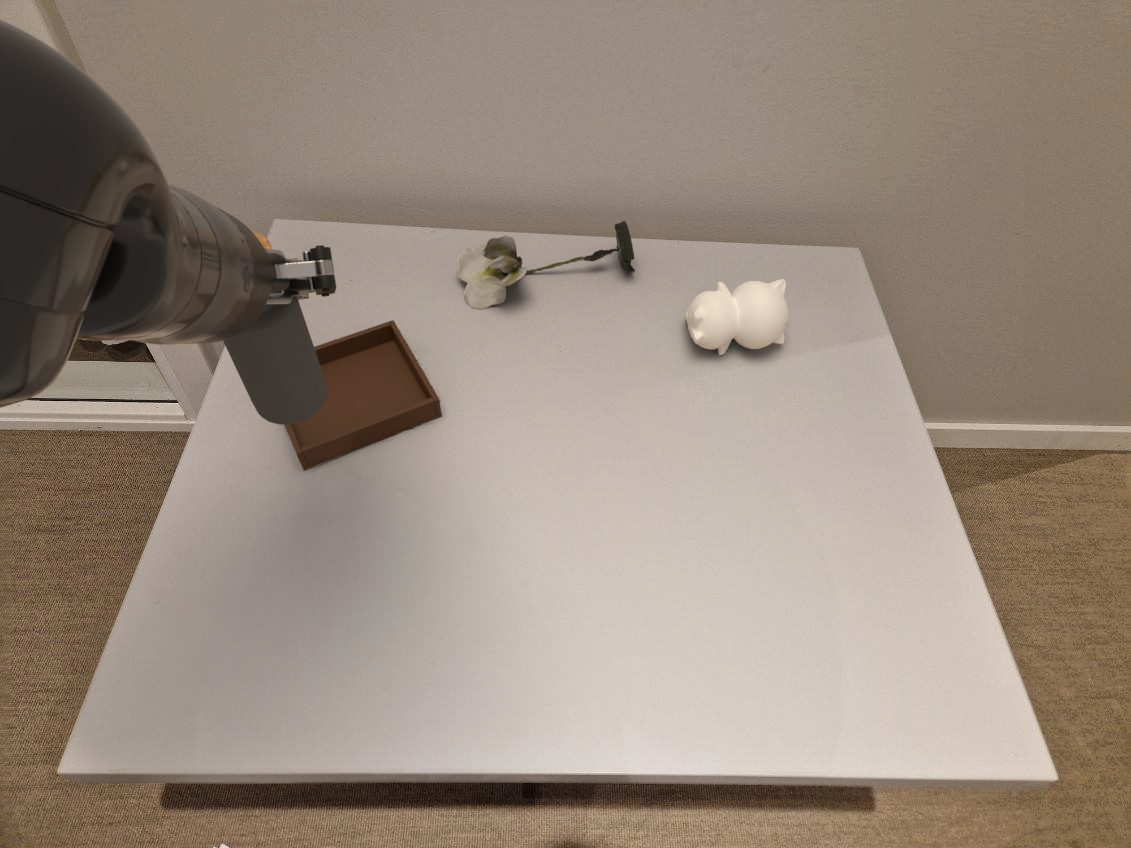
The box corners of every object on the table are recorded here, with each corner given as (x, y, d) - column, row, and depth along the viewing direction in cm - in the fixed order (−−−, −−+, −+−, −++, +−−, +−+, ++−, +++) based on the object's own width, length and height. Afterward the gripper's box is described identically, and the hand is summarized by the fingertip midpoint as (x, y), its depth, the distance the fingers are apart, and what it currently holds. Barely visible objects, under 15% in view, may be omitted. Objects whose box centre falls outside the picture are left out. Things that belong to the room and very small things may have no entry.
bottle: (294, 360, 62) (240, 213, 50) (343, 392, 60) (298, 247, 48) (239, 402, 59) (167, 256, 47) (288, 437, 57) (226, 294, 45)
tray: (303, 470, 74) (296, 453, 72) (267, 382, 81) (259, 364, 78) (442, 416, 79) (439, 398, 77) (397, 337, 86) (393, 319, 83)
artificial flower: (641, 296, 94) (647, 252, 84) (468, 327, 93) (454, 286, 83) (626, 239, 97) (630, 190, 87) (458, 268, 96) (444, 222, 86)
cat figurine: (696, 291, 79) (802, 279, 80) (669, 276, 89) (763, 265, 90) (698, 369, 82) (799, 355, 83) (671, 346, 92) (762, 334, 93)
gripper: (309, 179, 37) (350, 226, 53) (-3, 203, 35) (140, 245, 51) (332, 327, 38) (365, 329, 54) (31, 360, 36) (160, 351, 52)
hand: (256, 288), depth 53 cm, fingers closed on bottle, 5 cm apart
